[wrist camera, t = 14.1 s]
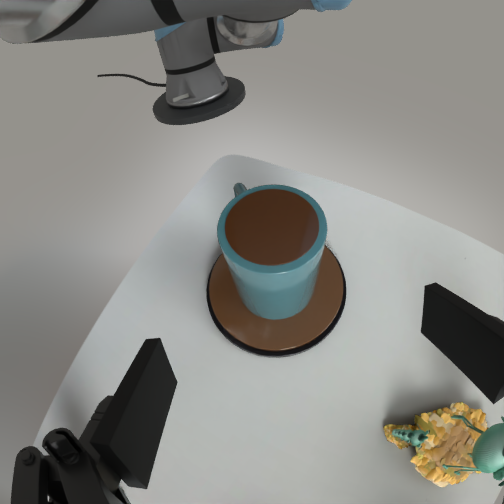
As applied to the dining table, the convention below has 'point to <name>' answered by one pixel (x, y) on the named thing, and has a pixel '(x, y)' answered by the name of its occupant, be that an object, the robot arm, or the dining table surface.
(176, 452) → the dining table surface
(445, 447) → the green creature figurine
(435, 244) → the dining table surface
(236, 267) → the teal mug
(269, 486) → the dining table surface
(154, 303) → the dining table surface
